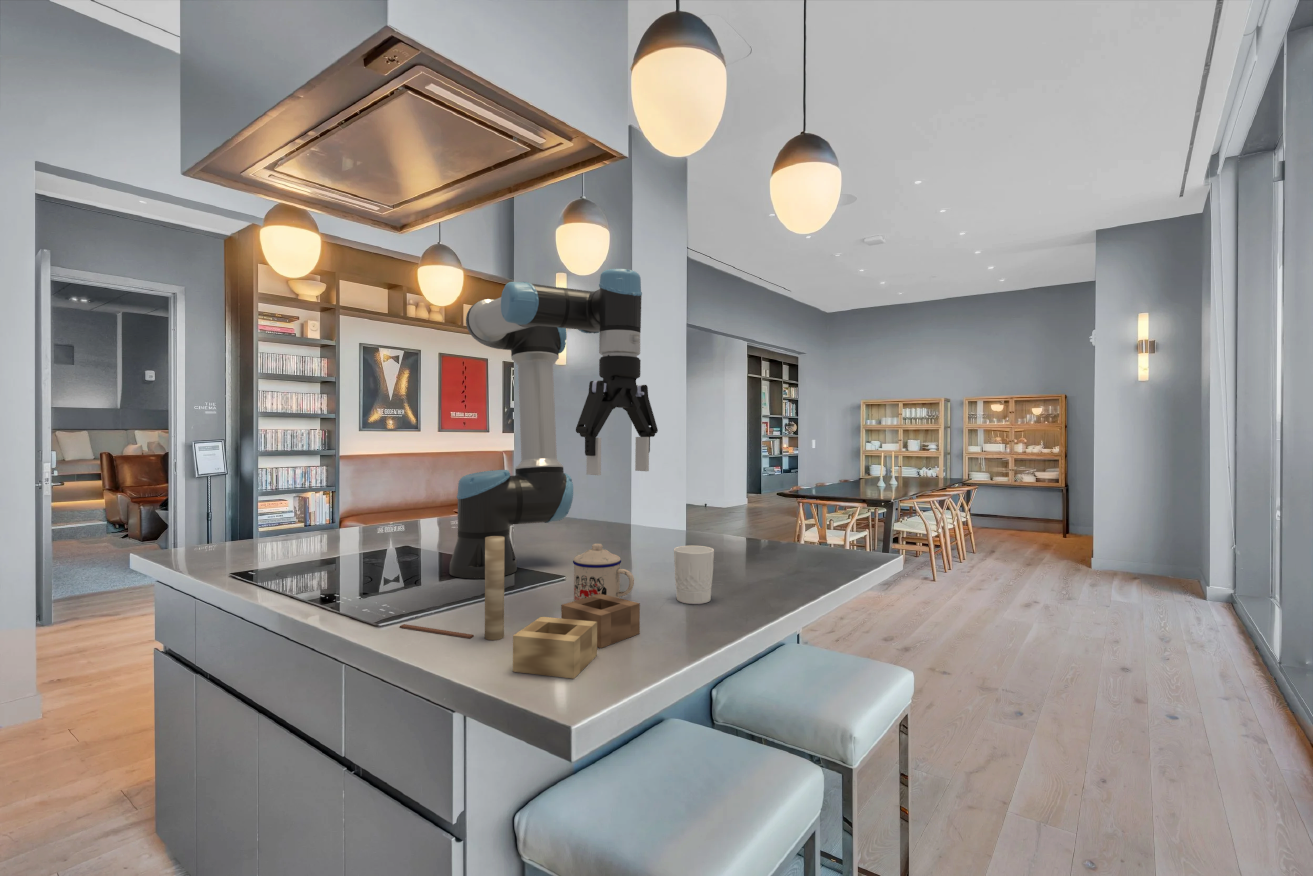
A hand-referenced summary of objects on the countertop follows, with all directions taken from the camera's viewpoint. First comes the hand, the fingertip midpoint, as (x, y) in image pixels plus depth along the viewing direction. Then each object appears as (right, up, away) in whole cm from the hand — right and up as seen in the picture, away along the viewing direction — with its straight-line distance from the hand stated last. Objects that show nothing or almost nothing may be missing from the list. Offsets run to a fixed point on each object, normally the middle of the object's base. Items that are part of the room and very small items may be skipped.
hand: (618, 473), depth 114 cm
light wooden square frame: (-7, -26, -25) cm, 37 cm away
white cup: (+14, -26, +9) cm, 31 cm away
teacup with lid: (-3, -26, +4) cm, 26 cm away
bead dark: (-2, -26, -12) cm, 29 cm away
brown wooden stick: (-29, -25, -12) cm, 41 cm away
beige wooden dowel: (-19, -26, -14) cm, 35 cm away
